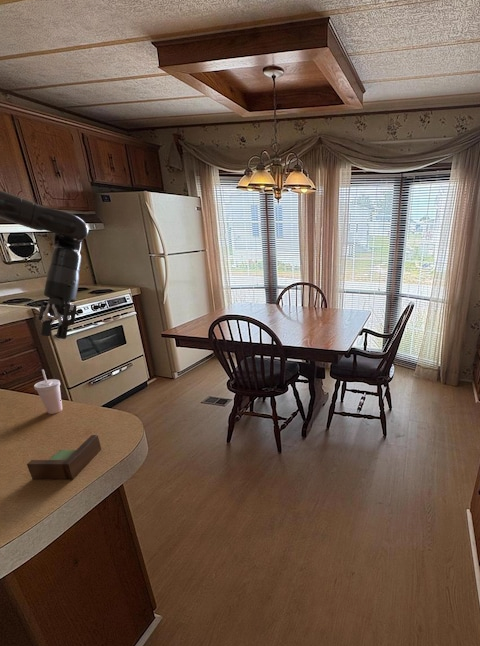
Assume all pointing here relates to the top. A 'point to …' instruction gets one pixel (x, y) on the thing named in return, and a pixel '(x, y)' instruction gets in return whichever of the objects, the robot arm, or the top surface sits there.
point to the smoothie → (50, 394)
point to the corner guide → (65, 462)
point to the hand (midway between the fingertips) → (53, 337)
